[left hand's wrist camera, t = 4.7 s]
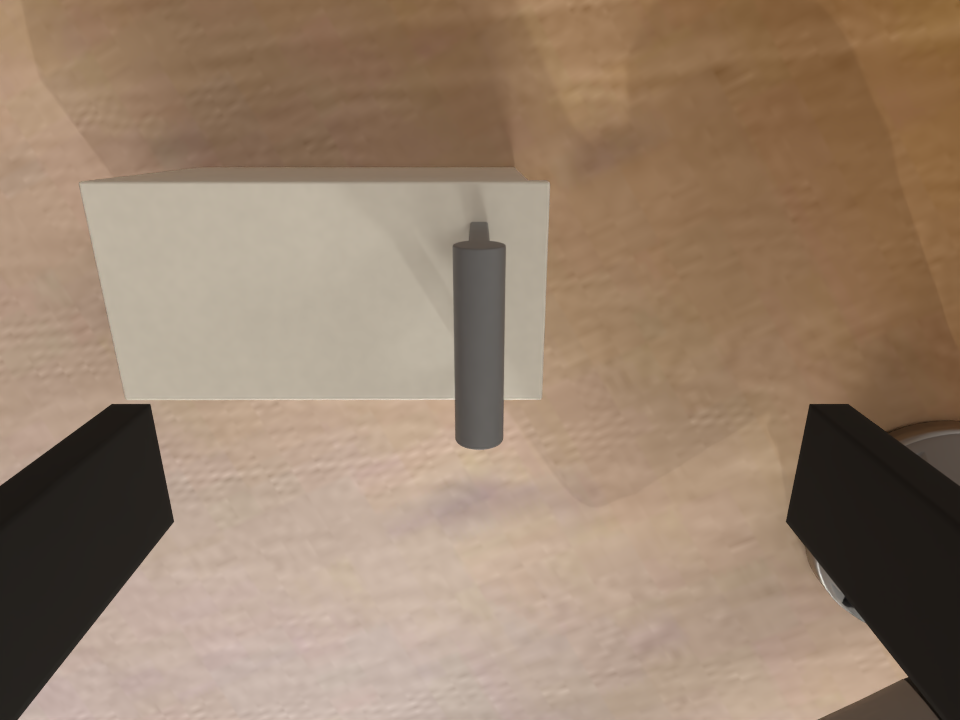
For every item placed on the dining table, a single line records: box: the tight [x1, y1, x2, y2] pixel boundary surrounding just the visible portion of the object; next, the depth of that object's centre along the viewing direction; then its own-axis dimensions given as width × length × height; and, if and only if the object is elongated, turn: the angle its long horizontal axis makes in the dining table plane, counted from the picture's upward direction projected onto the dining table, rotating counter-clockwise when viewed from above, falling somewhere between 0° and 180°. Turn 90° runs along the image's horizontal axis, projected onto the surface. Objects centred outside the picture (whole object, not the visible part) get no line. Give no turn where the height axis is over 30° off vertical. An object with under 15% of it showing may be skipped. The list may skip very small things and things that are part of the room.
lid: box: [79, 180, 550, 450], centre depth 23 cm, size 18×9×8 cm, turn 90°
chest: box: [97, 167, 528, 180], centre depth 31 cm, size 18×9×10 cm, turn 90°
